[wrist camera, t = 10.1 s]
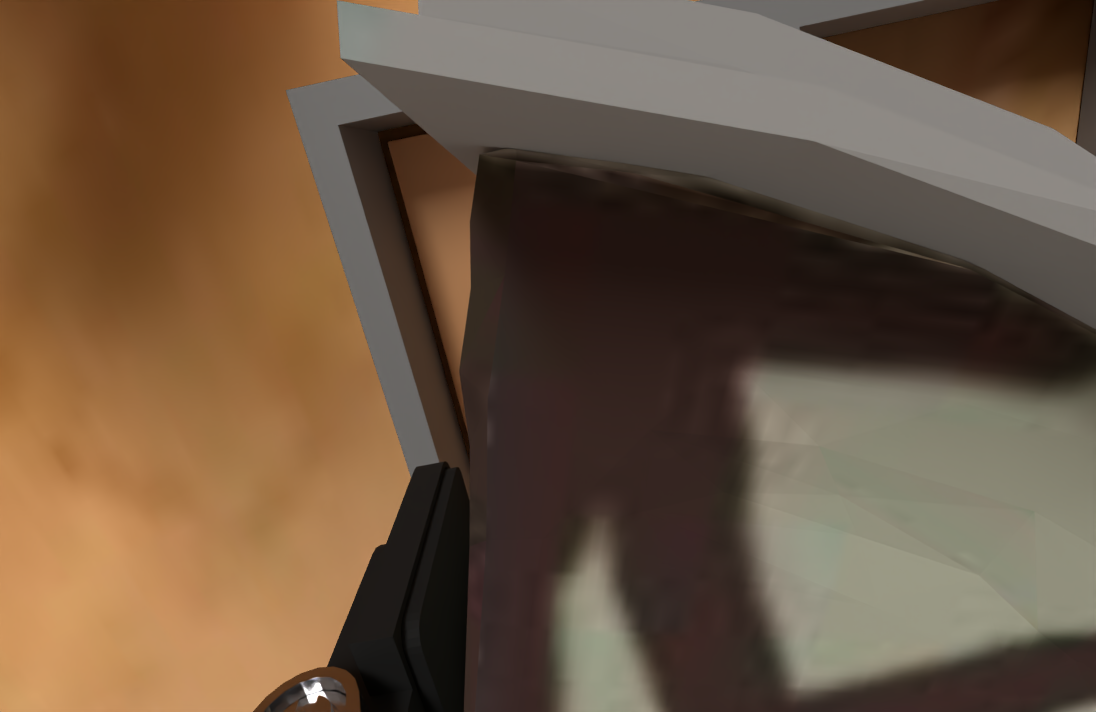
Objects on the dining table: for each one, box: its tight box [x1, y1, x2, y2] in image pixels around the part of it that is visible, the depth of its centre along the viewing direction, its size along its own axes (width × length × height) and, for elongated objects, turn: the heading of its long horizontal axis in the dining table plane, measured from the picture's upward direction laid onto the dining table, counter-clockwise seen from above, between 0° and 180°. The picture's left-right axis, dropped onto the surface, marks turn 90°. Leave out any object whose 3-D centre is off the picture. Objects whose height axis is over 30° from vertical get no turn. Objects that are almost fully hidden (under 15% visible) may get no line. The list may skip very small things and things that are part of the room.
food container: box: [337, 0, 1096, 712], centre depth 8 cm, size 12×6×10 cm, turn 176°
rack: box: [286, 0, 1096, 500], centre depth 14 cm, size 29×17×3 cm, turn 101°
